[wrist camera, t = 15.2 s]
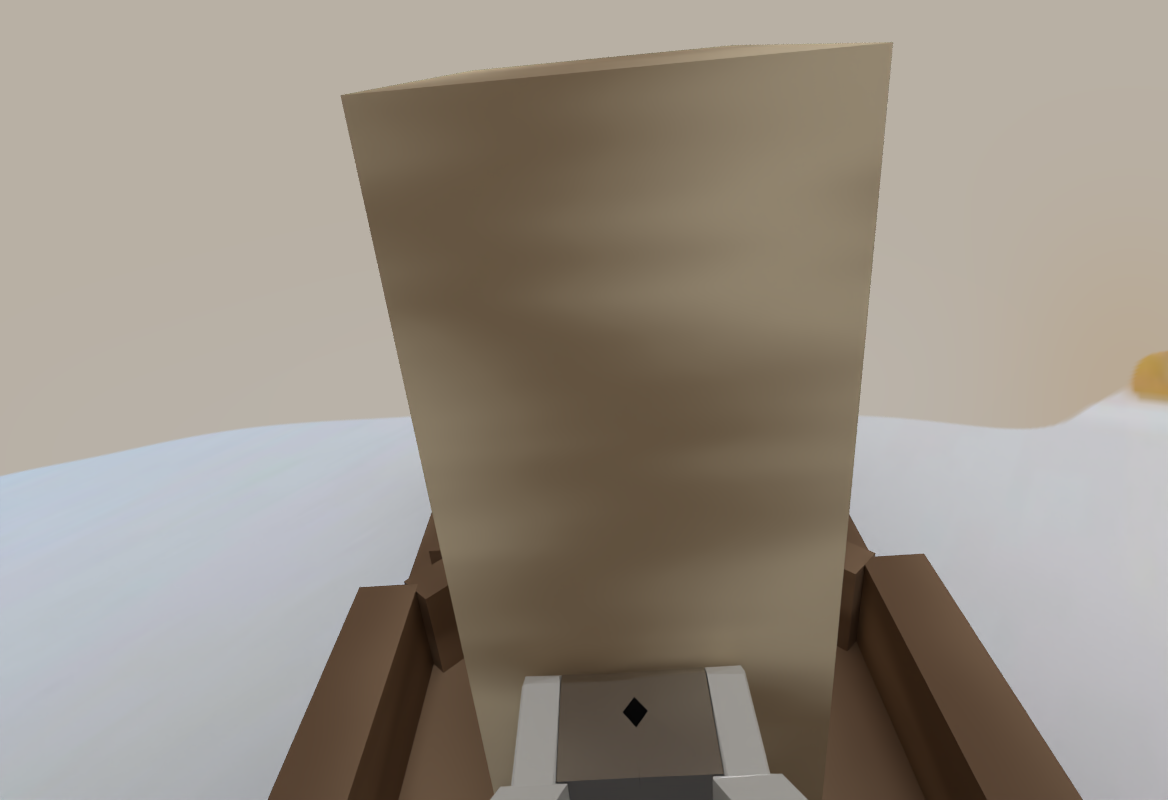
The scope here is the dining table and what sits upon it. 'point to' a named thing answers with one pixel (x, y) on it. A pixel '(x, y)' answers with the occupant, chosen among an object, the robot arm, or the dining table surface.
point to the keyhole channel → (857, 719)
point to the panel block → (637, 360)
